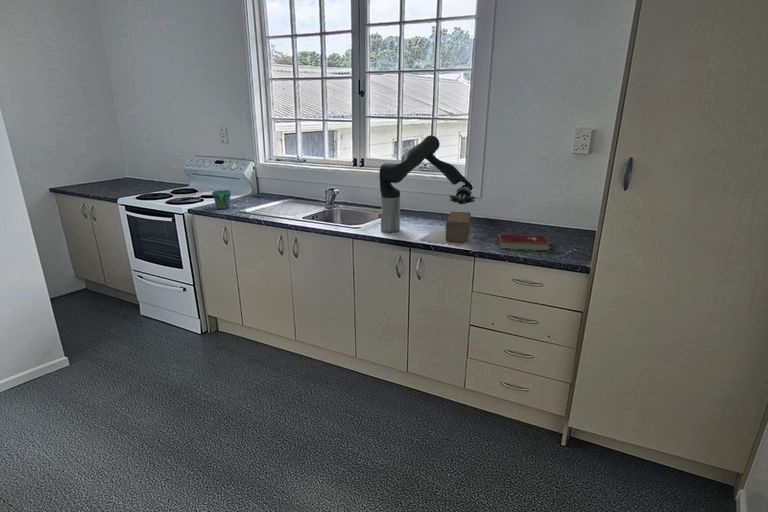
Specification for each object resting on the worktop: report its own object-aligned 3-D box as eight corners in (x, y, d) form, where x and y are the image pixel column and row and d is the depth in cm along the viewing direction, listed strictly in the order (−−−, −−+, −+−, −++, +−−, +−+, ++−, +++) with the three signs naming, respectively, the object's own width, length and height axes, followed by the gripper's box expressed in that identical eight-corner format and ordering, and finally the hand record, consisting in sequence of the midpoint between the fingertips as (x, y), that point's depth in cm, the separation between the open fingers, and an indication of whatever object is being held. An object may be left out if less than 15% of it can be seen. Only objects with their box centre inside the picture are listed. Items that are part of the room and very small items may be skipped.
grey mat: (459, 246, 202) (459, 246, 202) (418, 240, 211) (418, 239, 211) (474, 235, 219) (474, 234, 219) (436, 230, 228) (436, 229, 228)
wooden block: (469, 231, 223) (467, 243, 205) (449, 230, 226) (445, 242, 207) (471, 212, 220) (468, 222, 202) (450, 211, 222) (446, 221, 204)
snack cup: (230, 210, 270) (228, 193, 267) (212, 211, 268) (209, 194, 265) (234, 205, 284) (232, 189, 281) (216, 205, 283) (214, 189, 279)
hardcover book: (497, 241, 210) (498, 233, 209) (545, 244, 207) (546, 235, 206) (499, 249, 199) (500, 240, 198) (549, 252, 196) (550, 243, 194)
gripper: (451, 187, 236) (447, 193, 220) (477, 188, 233) (474, 195, 217) (450, 201, 239) (446, 209, 223) (476, 203, 235) (473, 210, 220)
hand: (460, 202), depth 220 cm, fingers closed
